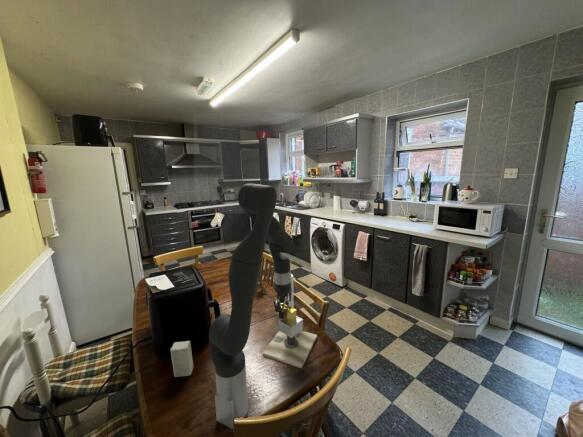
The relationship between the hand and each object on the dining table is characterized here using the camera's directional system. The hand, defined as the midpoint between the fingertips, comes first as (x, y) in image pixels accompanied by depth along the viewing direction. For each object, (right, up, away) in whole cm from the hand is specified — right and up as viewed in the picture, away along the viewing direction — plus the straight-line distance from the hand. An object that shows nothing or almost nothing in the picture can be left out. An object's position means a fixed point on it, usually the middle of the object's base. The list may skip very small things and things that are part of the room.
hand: (283, 314), depth 106 cm
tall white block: (+1, -11, +19) cm, 22 cm away
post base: (+3, -14, 0) cm, 14 cm away
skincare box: (-39, -17, -14) cm, 45 cm away
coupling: (+2, -6, 0) cm, 6 cm away
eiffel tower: (-18, -5, +49) cm, 53 cm away
